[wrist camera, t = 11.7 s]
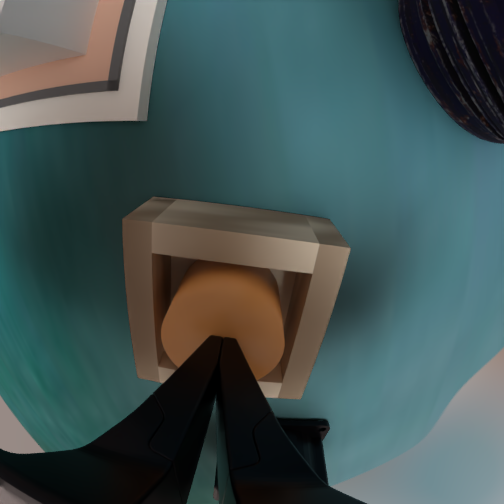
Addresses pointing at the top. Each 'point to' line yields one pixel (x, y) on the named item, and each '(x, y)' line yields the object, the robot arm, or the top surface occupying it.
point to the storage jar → (460, 59)
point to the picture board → (91, 73)
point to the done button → (226, 313)
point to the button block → (234, 252)
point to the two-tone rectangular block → (43, 31)
